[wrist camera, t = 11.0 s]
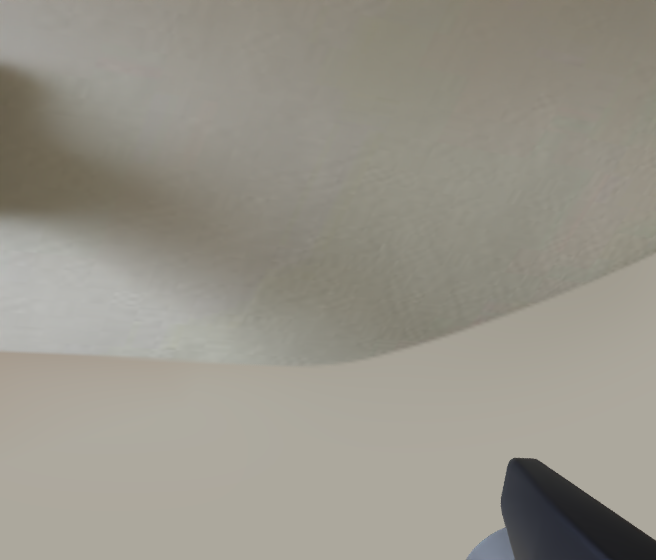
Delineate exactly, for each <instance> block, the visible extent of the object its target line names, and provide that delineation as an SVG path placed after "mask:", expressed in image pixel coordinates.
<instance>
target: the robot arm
mask: <svg viewBox="0 0 656 560" xmlns="http://www.w3.org/2000/svg"><path fill="white" fill-rule="evenodd" d="M501 509H502V515H503V519H504V522H505V526H506V530H507V533H508V537H509V540H510V544H511V548H512V551H513V555H514V558H515V560H656V540H654V539H652V538H651V537H650V536H648V535H647V534H645V533H644V532H642V531H641V530H639V529H638V528H637V527H635V526H633V525H632V524H631V523H629V522H628V521H626V520H625V519H623V518H622V517H620V516H619V515H617V514H616V513H615V512H613V511H612V510H610V509H609V508H607V507H606V506H604V505H603V504H601V503H600V502H599V501H597V500H596V499H594V498H593V497H591V496H590V495H588V494H587V493H585V492H584V491H582V490H581V489H580V488H578V487H577V486H575V485H574V484H572V483H571V482H569V481H568V480H566V479H565V478H563V477H562V476H561V475H559V474H558V473H556V472H555V471H553V470H552V469H550V468H549V467H547V466H546V465H544V464H543V463H542V462H540V461H538V460H537V459H531V458H529V459H528V458H513V459H511V460H510V462H509V464H508V466H507V472H506V476H505V481H504V486H503V492H502V496H501Z"/></svg>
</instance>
